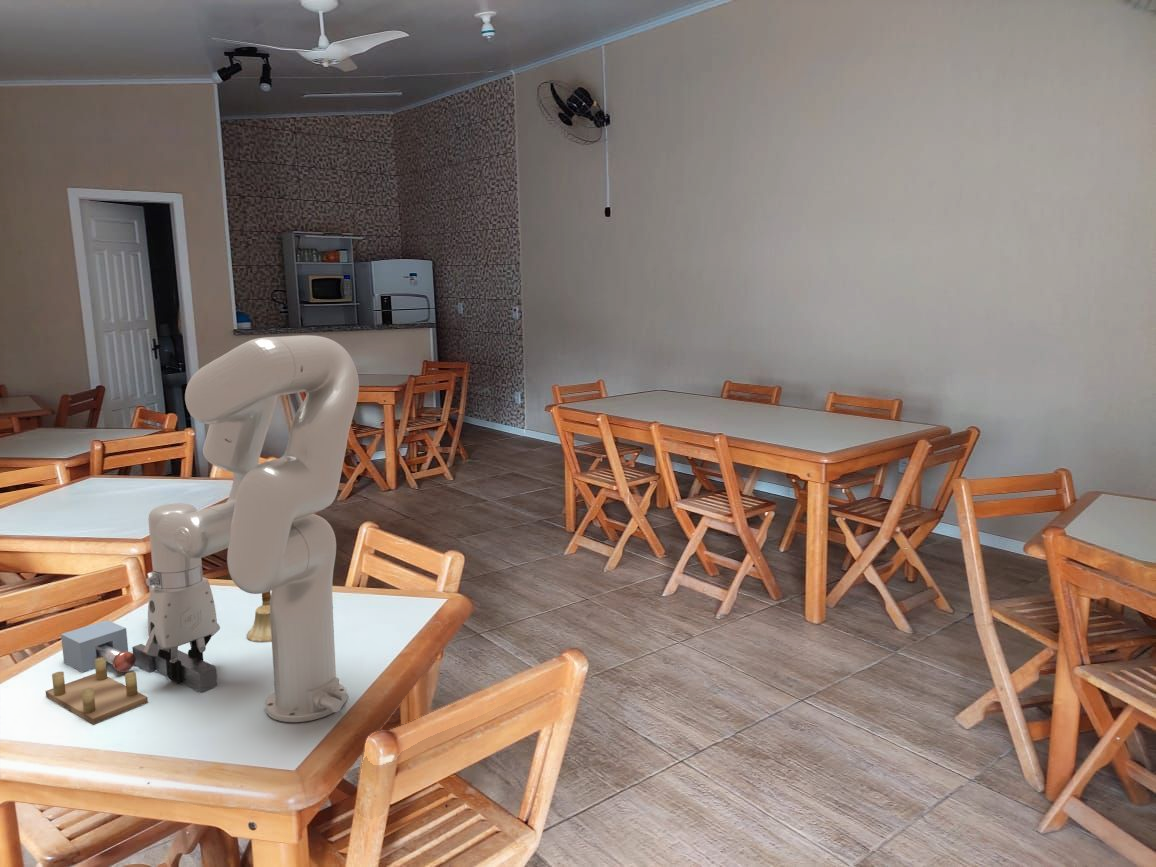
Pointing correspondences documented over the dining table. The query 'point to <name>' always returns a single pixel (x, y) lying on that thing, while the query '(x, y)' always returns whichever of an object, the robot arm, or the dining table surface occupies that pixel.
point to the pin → (116, 657)
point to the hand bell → (261, 622)
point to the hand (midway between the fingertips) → (186, 676)
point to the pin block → (91, 643)
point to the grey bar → (193, 669)
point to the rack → (96, 694)
